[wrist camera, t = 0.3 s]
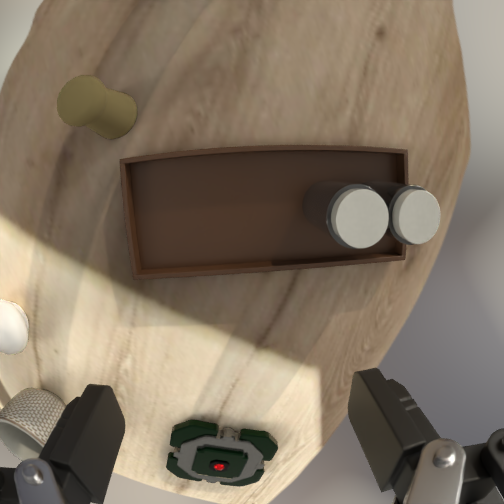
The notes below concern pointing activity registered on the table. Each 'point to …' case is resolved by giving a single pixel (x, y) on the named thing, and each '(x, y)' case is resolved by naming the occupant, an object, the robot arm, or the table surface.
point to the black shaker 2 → (408, 211)
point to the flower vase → (12, 328)
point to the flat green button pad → (219, 453)
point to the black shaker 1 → (346, 212)
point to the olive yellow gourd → (96, 107)
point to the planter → (29, 421)
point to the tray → (244, 208)
